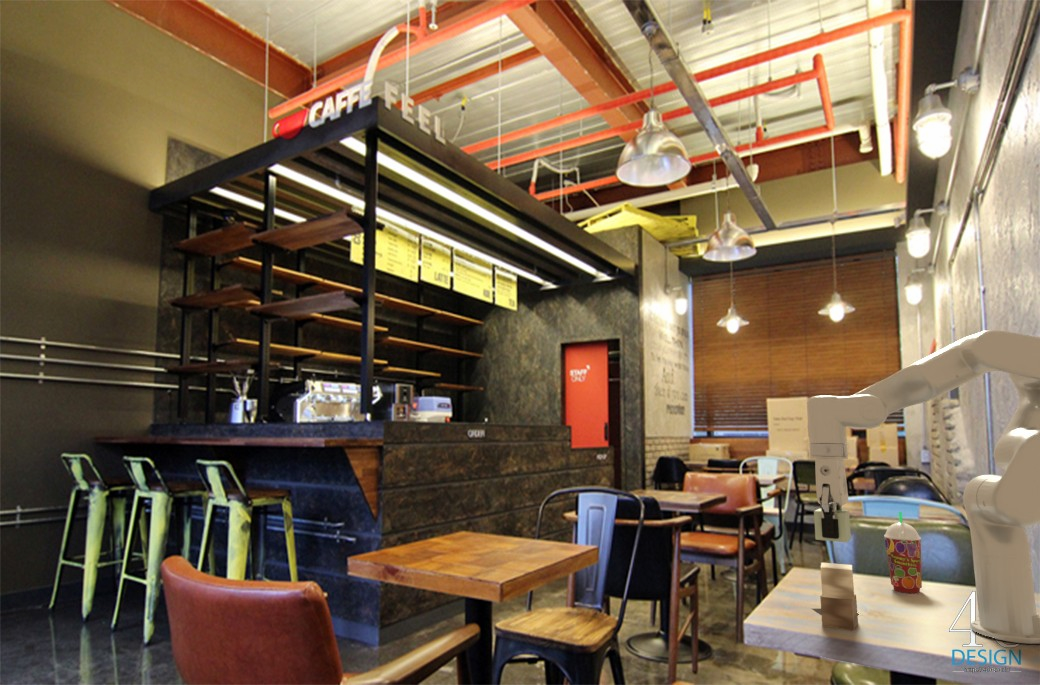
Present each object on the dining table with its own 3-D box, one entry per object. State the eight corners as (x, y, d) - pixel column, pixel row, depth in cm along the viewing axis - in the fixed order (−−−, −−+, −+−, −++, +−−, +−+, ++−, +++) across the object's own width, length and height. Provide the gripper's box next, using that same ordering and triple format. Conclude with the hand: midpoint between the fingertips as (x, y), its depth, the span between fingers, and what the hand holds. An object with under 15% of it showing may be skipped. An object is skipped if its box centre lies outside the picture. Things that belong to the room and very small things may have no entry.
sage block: (850, 538, 138) (849, 510, 139) (846, 542, 133) (844, 513, 134) (821, 536, 141) (819, 508, 142) (815, 539, 137) (813, 510, 137)
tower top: (854, 593, 137) (852, 564, 138) (854, 600, 132) (852, 570, 132) (823, 590, 140) (821, 562, 140) (822, 596, 134) (820, 567, 135)
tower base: (858, 623, 135) (856, 594, 136) (853, 630, 131) (851, 600, 131) (827, 619, 139) (825, 590, 140) (822, 625, 134) (820, 596, 135)
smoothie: (892, 593, 161) (886, 512, 164) (884, 586, 169) (878, 509, 172) (930, 596, 159) (923, 514, 162) (920, 588, 167) (913, 510, 170)
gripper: (840, 452, 131) (846, 543, 128) (853, 451, 145) (858, 533, 142) (801, 452, 135) (806, 539, 133) (817, 451, 149) (822, 530, 146)
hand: (833, 535), depth 137 cm, fingers closed on sage block, 6 cm apart
